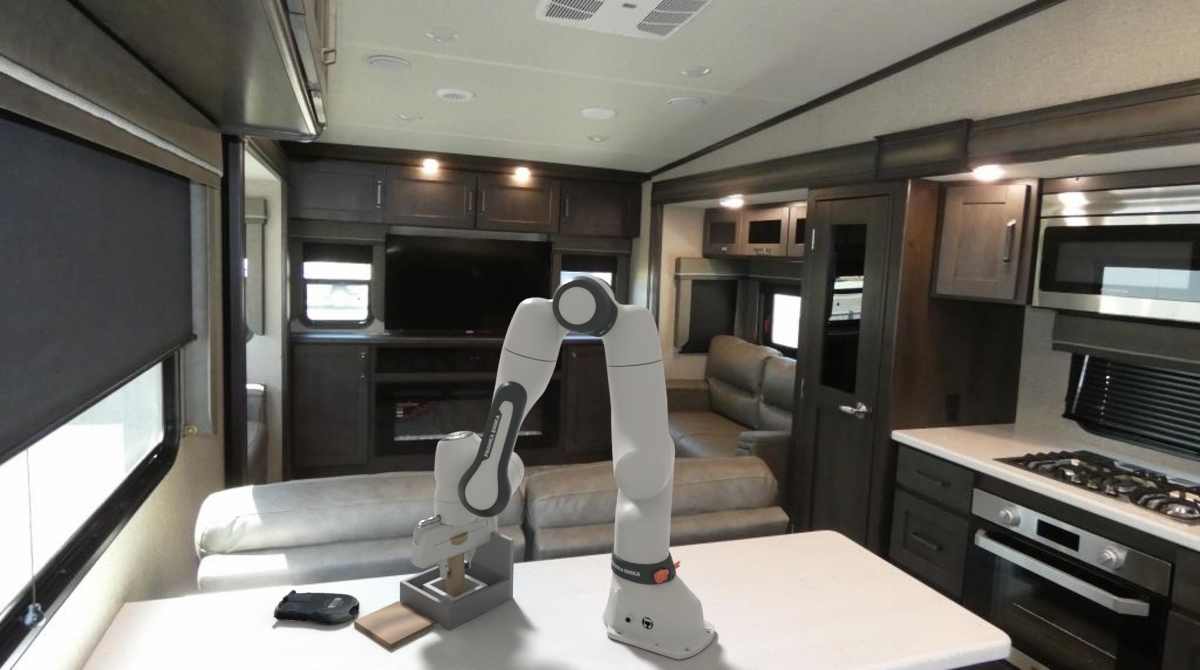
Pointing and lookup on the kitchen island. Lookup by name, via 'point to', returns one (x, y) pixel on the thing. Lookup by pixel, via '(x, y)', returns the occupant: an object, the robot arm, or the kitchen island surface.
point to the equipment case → (481, 589)
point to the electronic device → (316, 607)
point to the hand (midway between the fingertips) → (455, 573)
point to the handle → (456, 569)
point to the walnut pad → (394, 624)
